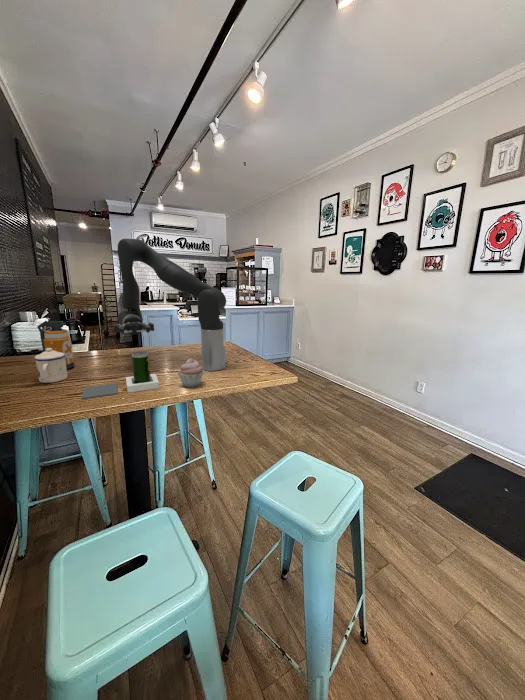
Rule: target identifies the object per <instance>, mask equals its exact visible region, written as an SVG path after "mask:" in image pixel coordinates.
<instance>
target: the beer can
mask: <svg viewBox="0 0 525 700" xmlns="http://www.w3.org/2000/svg"><path fill="white" fill-rule="evenodd" d="M131 364H132V365H131V366H132V376H134V384H137V383H144V382H151V381H150V374H151V373H150V359H149V353H148V351H147V350H145V351H144V350H139V351H134V352H132V353H131Z"/></svg>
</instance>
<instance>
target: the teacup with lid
mask: <svg viewBox="0 0 525 700" xmlns="http://www.w3.org/2000/svg"><path fill="white" fill-rule="evenodd" d="M34 361H35V367H36V371H37V377H38V380H39V382H40V383H47V384H48V383H56V382H61V381H64V380H66V379H67V378H68V369H66V362H65V354H64V353H62V352H57V351H53V350H52V348H47V349H46V351H45V352H43V351H42V352H41V353H39V354H37V355H35V356H34Z"/></svg>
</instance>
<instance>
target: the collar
mask: <svg viewBox="0 0 525 700" xmlns="http://www.w3.org/2000/svg"><path fill="white" fill-rule="evenodd" d="M125 380H126V382H125V383H126V389H127V393H135V392H142V391H150V390H155V389H156V390H157V389H160V381H159V379H158V377H157V374H156V373H150V382H144V383H137V384H134V376H133V375H132V376H126V377H125Z"/></svg>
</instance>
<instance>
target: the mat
mask: <svg viewBox="0 0 525 700" xmlns="http://www.w3.org/2000/svg"><path fill="white" fill-rule="evenodd" d="M115 395H118V382H116V383H109V384H108V383H107V384H100V385H92V386H86V387H84V388H83V391H82V395H81V400H86V399H94V398H101V397H108V396H115Z"/></svg>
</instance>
